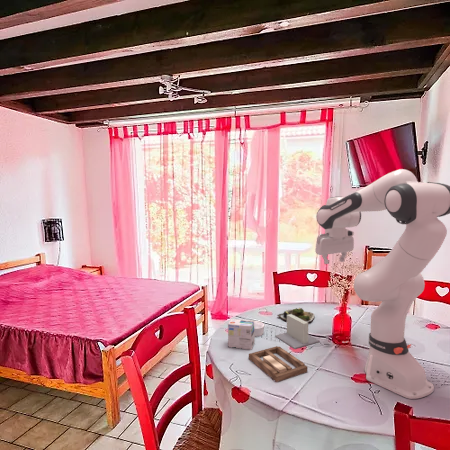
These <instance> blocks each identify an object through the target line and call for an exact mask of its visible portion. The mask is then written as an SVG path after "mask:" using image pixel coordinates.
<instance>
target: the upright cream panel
mask: <svg viewBox="0 0 450 450" xmlns="http://www.w3.org/2000/svg"><path fill="white" fill-rule="evenodd" d="M286 333H287V334H288V335H290V336H292V337H293V338H295V339H297V340H298V341H300V342H301V343H303V344H305V343H308V334H309V324H308V322H306V321H304V320H302V319H300V318H298V317H296V316H294V315H292V314H289V315H287V322H286Z"/></svg>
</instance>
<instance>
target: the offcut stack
mask: <svg viewBox="0 0 450 450" xmlns="http://www.w3.org/2000/svg"><path fill="white" fill-rule="evenodd" d="M262 360H263V361H264V362H265V363H266V364H268V365H269V366H270V367H271V368H273V369H274V370H275V371H276V372H278V373H281V372H284V371H287V368H286V367H284V366H283V365H282V364H280V363H279V362H278V361H277V360H275V359H274V358H273V357H271V356H270V355H268V356H265V357H262Z"/></svg>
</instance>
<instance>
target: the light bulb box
mask: <svg viewBox="0 0 450 450" xmlns="http://www.w3.org/2000/svg"><path fill="white" fill-rule="evenodd" d="M254 321H255V320H251V319H237V318H231V319H230V320H229V322H228V323H227V338H228V339H227V340H228V341H227V343H228V346H229V347H228V346H227V347H228V348H232V347H236V348H235V349H241V348H242V349H243V350H249V351H250V350H252V349H253V348H254V346H255V345H256V344H255V341H256V340H255V337H256V336H255V335H254ZM242 349H241V350H242Z"/></svg>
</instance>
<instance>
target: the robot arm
mask: <svg viewBox="0 0 450 450" xmlns="http://www.w3.org/2000/svg"><path fill="white" fill-rule="evenodd" d="M382 211H387V212H388V213H389V214H390V216H391V217H393V219H395V220H396V223H398V224H401V225H405V226H406V227H405V229H404V231H403V233H402V234H401V235H400V237H399V238H398V240H397V241H396V243H395V244H394V245H393V247H392V249H391V250H390V251H389V252H388V254H386V256H384V257H382V259H381V260H379V261H378V262H376V263H375V264H374V265H373V266H372V267H370V268H367V269H366V270H365V271H363V272H360V273H358V274H357V275H356V276H355V279H354V281H353V289H354V292H355V294H356V295H357V297H358V298H359V299H360V300H362V301H365V302H373V303H374V302H375V303H378V302H380V304H379V305H378V306H377V307H376V308H375V309H374V310H373V311H372V312H371V315H370V332H369V333H368V345H369V349H368V355H367V360H366V363H365V365H364V372H365V374H366V375H365V379H366V381H368V382H371V383H372V384H375V385H378V386H380V387H382V388H384V389H386V390H389V392H392V393H395V394H397V395H399V396H401V397H404V398H406V399H410V400H411V399H412V400H415V399H416V400H417V399H421V398H424V397H427V396H429V395H431V394H432V393H434V390H435V387H434V384H433V383H432V382H430V381H429V380H427V373H426V370H425V368H424V367H423V366H422V364H420V362H419V361H418V360H417V359H416V358H415V357H414V356H413V355H412V353H411V352H410V351H409V349H410V348H412V343H411V344H407V340H406V338H405V330H406V329H405V328H406V320H407V315H408V314H409V313H408V312H409V311H410V309H411V306H412V305H413V303H414V302H415V300H416V299H417V298H418V297H419V296H420V295H421V294H423V292H424V290H425V285H426V283H425V279H424V276H423V275H422V274H421V273H422V272H423V271H424V270H425V269H426V267H427V266H428V265H429V264H430V262H431V261H432V260H433V258H434V257H435V256H436V254H437V253H438V252H439V250H440V249H441V247H442V245H443V243H444V242H445V239H446V237H447V235H448V234H447V233H448V229H447V226H446V224H445V223H443V221H441V220H440V219H439V218H440V217H445V216H446V215H449V214H450V185H448V184H445V183H440V182H430V181H426V182H422V181H421V182H420V181H418V179H417V177H416V176H415V174H414V173H413V172H412V171H410V170H408V169H405V168H404V169H403V168H399V169H396V170H393V171H391V172H388V173H387V174H385V175H383V176H381V177H379V178H378V179H376V180H374V181H373V182H371V183H370V184H368V185H367V186H365V187H363V188H361V189H358V190H357V191H355V192H353V193H351V194H348V195H346V196H330V197H329V198H327V199H326V203H325V204H323V205H322V206H320V208H319V209H318V210H317V212H316V217H315V218H316V222H317V224H318V225H319V226H320V227H321V228H323V229H324V233H320V234H318V236H317V237H316V243H315V249H314V250H315V251H314V252H315V254H316V255H318V256H321V257H322V259H323V260H324V261H323V264H324V265H328V264H330V260H329V259H328V257H329V256H328V255H332V254H333V255H335V254H340V253H341V255H340V257H339V262H341V263H344V262H345V261H346V260H345V258H346V257H347V255H348V252H352V251H353V250H354V247H355V246H354V244H355V240H354V236H355V235H354V234H355V232H354V231H353V230H351V229H348V228H354V227H355V228H356V227H357V226H359V224H360V223H361V220H362V212H364V213H365V212H382Z"/></svg>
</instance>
